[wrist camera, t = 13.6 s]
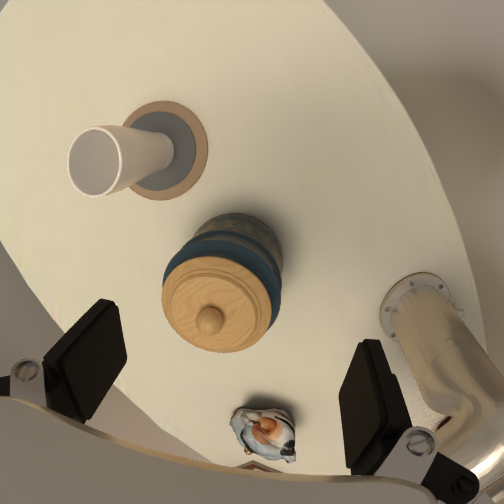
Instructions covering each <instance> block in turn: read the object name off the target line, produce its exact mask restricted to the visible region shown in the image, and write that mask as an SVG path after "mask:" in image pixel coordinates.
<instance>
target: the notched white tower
mask: <svg viewBox="0 0 504 504" xmlns="http://www.w3.org/2000/svg"><path fill="white" fill-rule="evenodd" d="M235 468H241V469H248V470H255V471H264V472H274V473H283V472H280V471H277V470H275V469H272V468H270V467H267V466H265V465H263V464H260V463H258V462H256V461H250V462H248V463H245V464H243V465H240V466H237V467H235Z"/></svg>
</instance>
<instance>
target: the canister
mask: <svg viewBox="0 0 504 504" xmlns="http://www.w3.org/2000/svg"><path fill="white" fill-rule="evenodd" d="M282 268H283V256H282V250H281V247H280V245H279V242H278V240H277V239H276V237H275V235H274V234H273V232H272V231H271V230H270V229H269V228H268V227H267V226H266V225H265V224H264V223H262V222H261V221H259V220H257V219H255V218H253V217H251V216H247V215H243V214H226V215H221V216H218V217H215V218H213V219H211V220H209V221H208V222H206V223H205V224H204V225H203V226H202V227H201V228H200V229H199V230H198V231H197V232H196V233H195V235H194V236H193V238H192V239H191V240H189V241H188V242H187V243H186V244H185V245H184V246H183V247H182V248H181V250H180V251H179V252H178V253H177V254H176V255H175V256H174V257H173V258H172V259H171V260H170V262H169V264H168V265H167V267H166V270H165V273H164V277H163V290H162V306H163V310H164V313H165V316H166V318H167V320H168V322H169V323H170V325H171V326H172V328H173V329H174V330H175V331H176V332H177V333H178V334H179V335H180V336H181V337H182V338H183V339H185V340H186V341H187V342H189V343H191V344H192V345H194V346H196V347H198V348H201V349H204V350H207V351H211V352H218V353H230V352H236V351H240V350H243V349H246V348H248V347H250V346H252V345H253V344H255V343H256V342H257V341H259V340H260V339H261V337H262V336H263V335H264V334H265V332H266V331H267V330H269V328H270V327H271V326H272V325H273V323H274V322H275V320H276V318H277V316H278V313H279V310H280V305H281V289H282V279H281V273H282Z"/></svg>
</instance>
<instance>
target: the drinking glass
mask: <svg viewBox="0 0 504 504" xmlns="http://www.w3.org/2000/svg"><path fill="white" fill-rule="evenodd" d="M173 157H174V145H173V143H172V141H171V139H170V138H169V137H168V136H167V135H165V134H163V133H160V132H151V131H145V130H140V129H135V128H130V127H125V126H115V125H106V126H94V127H89V128H86V129H84V130H83V131H81V132H80V133H79V134H78V135H77V136H76V137H75V139H74V140H73V142H72V143H71V146H70V148H69V151H68V156H67V170H68V174H69V178H70V180H71V182H72V184H73V186H74V187H75V188H76V189H77V190H78V191H79V192H80V193H81V194H83V195H85V196H87V197H91V198H99V197H102V196H106V195H109V194H112V193H115V192H118V191H121V190H123V189H125V188H127V187H129V186H131V185H133V184H135V183H137V182H138V181H140V180H142V179H144V178H146V177H148V176H150V175H152V174H154V173H156V172H158V171H161V170H163V169H165V168H166V167H168V166H169V164H170V163H171V161H172V159H173Z"/></svg>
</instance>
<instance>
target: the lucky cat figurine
mask: <svg viewBox="0 0 504 504" xmlns="http://www.w3.org/2000/svg"><path fill="white" fill-rule="evenodd" d="M229 425H231V426H232V428H233V430H234V432H235V433H236V436H237V439H238V440H239V443H240V444H241V445H242V446H243V447H244V448H245V449H244V451H245V453H246V454H248V455H251V454H252V453H255V454H257V455H259V456H263V458H265V459H267V460H279V459H285V460H286V462H287V463H292V462H295V461H296V459H295V457H296V452H295V451H294V450H295V449H294V447H295V429H294V428H295V423H294V420H292V418H291V417H290V416H289V414H288V412H287V411H285V410H284V409H283V410H278V409H276V408H273V409H266V410H253V409H237V410H236V411H235V413H234V415H233V416H232V417H231V420H230V424H229Z"/></svg>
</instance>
